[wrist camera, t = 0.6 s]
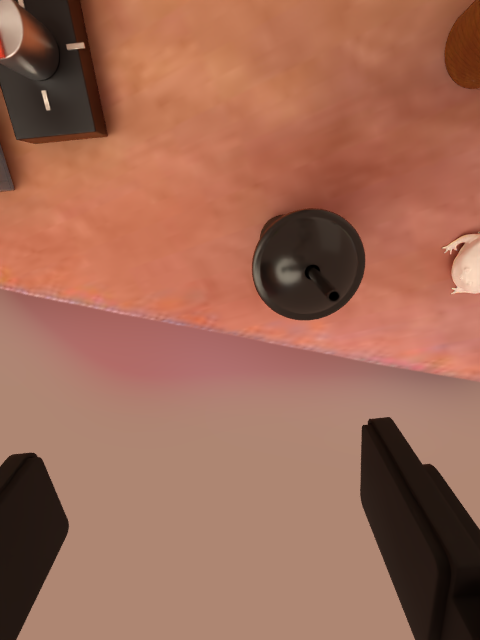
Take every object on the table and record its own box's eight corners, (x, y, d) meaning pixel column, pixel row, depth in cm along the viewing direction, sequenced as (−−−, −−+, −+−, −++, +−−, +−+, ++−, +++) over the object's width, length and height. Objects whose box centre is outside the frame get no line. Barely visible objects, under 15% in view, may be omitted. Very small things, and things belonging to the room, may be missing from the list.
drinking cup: (258, 283, 37) (280, 380, 19) (237, 214, 35) (237, 246, 16) (326, 262, 37) (420, 340, 18) (309, 190, 34) (399, 193, 15)
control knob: (0, 22, 26) (-54, -16, 21) (51, 16, 26) (8, -23, 21) (17, 83, 28) (-30, 60, 23) (65, 78, 28) (28, 54, 23)
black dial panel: (-18, -19, 28) (-48, -44, 25) (81, -31, 28) (62, -56, 25) (28, 144, 32) (7, 140, 29) (114, 136, 32) (102, 130, 29)
